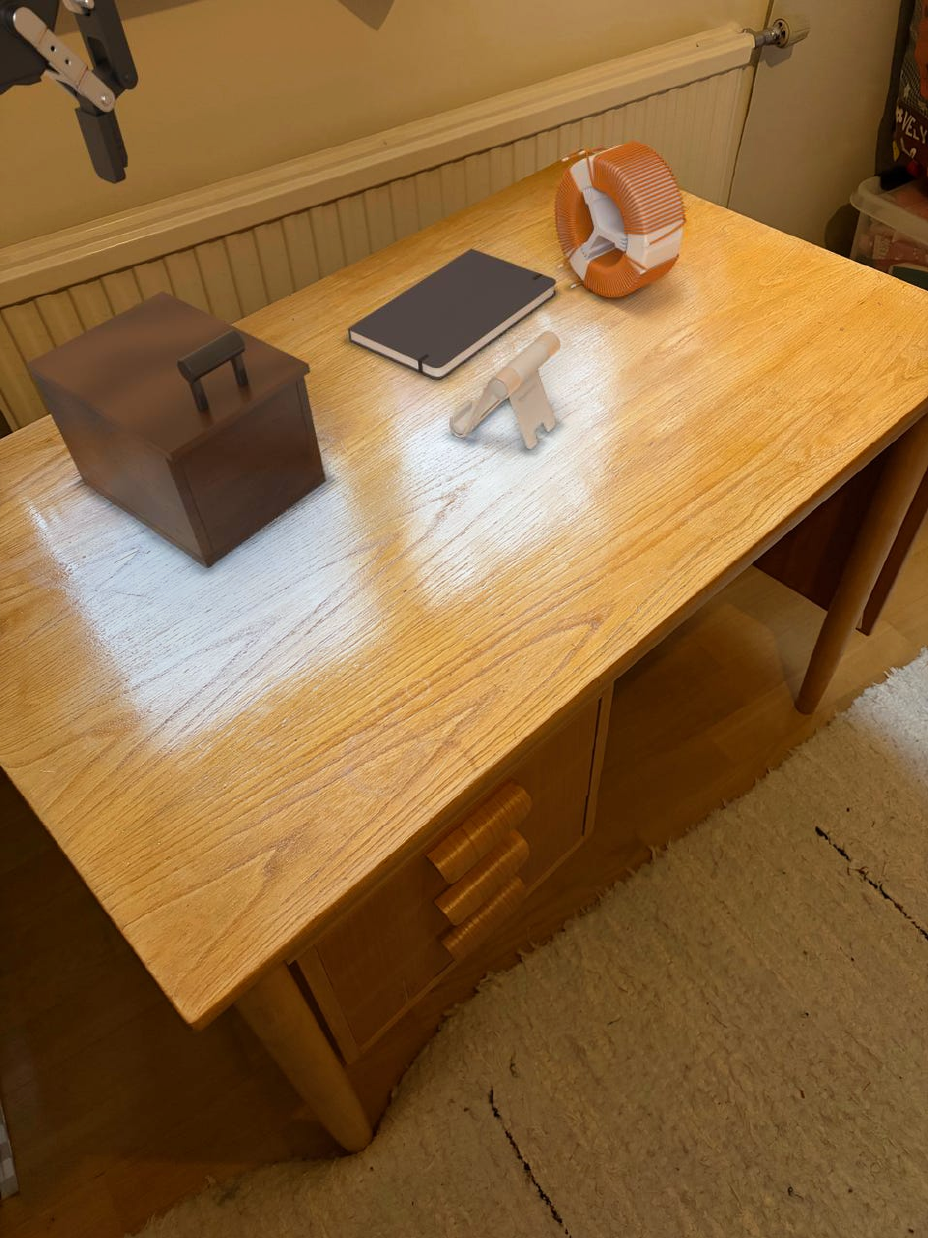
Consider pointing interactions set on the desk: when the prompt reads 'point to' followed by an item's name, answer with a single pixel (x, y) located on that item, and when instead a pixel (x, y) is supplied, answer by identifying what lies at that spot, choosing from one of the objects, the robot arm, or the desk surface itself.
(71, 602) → the desk surface
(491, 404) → the tablet stand
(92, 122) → the robot arm
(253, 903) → the desk surface
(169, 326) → the lid
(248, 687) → the desk surface
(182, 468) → the chest
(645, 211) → the coil
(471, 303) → the notebook
